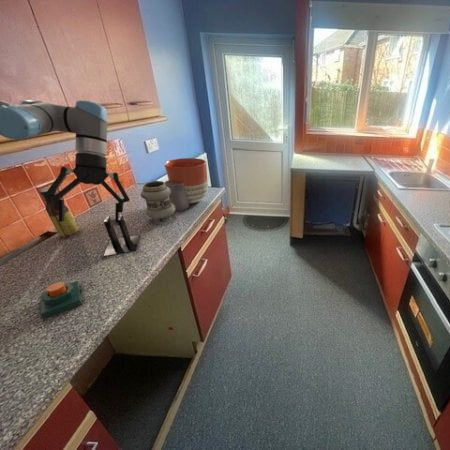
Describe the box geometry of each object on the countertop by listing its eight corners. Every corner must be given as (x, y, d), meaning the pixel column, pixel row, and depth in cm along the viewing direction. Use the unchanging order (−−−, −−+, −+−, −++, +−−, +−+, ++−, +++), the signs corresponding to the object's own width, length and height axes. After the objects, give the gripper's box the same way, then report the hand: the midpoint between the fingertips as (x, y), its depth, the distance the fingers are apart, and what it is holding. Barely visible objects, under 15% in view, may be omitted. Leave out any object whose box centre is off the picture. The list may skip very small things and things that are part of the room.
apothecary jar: (142, 224, 112) (131, 186, 103) (162, 213, 122) (153, 178, 113) (164, 228, 109) (155, 190, 100) (183, 217, 119) (175, 181, 111)
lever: (120, 227, 101) (118, 218, 101) (130, 225, 102) (128, 217, 102) (108, 228, 88) (106, 218, 88) (120, 226, 89) (118, 216, 89)
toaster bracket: (111, 242, 98) (100, 213, 92) (140, 238, 102) (131, 209, 96) (104, 259, 88) (91, 228, 82) (137, 253, 92) (127, 223, 86)
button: (49, 291, 69) (46, 285, 68) (66, 286, 71) (63, 280, 70) (49, 299, 67) (46, 293, 66) (67, 293, 69) (63, 287, 68)
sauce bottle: (83, 231, 105) (63, 186, 95) (76, 238, 100) (55, 191, 90) (64, 232, 103) (42, 187, 93) (56, 240, 98) (32, 193, 88)
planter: (196, 211, 125) (189, 169, 116) (164, 205, 130) (154, 164, 120) (217, 197, 142) (213, 160, 132) (188, 193, 146) (182, 156, 136)
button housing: (44, 298, 72) (38, 287, 70) (80, 286, 76) (75, 276, 74) (44, 320, 65) (37, 309, 63) (82, 305, 70) (77, 294, 68)
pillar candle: (172, 204, 132) (166, 176, 125) (191, 203, 133) (187, 176, 127) (166, 211, 123) (160, 182, 116) (187, 211, 125) (182, 182, 118)
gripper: (138, 162, 88) (136, 221, 90) (38, 148, 74) (38, 219, 75) (139, 159, 82) (137, 223, 83) (30, 144, 68) (30, 221, 69)
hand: (90, 221), depth 79 cm, fingers open, 13 cm apart
